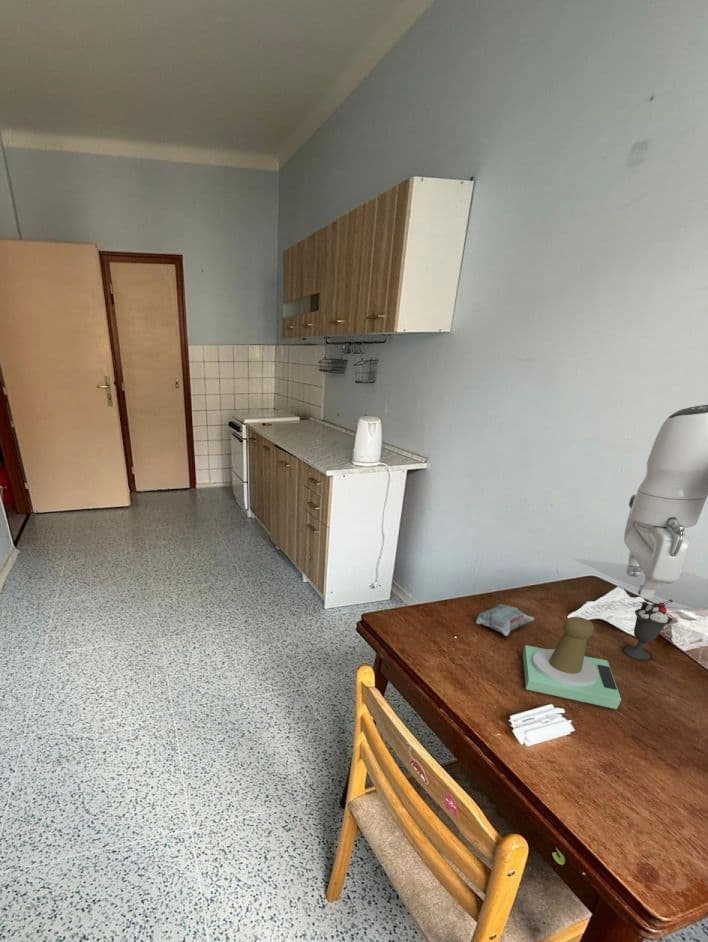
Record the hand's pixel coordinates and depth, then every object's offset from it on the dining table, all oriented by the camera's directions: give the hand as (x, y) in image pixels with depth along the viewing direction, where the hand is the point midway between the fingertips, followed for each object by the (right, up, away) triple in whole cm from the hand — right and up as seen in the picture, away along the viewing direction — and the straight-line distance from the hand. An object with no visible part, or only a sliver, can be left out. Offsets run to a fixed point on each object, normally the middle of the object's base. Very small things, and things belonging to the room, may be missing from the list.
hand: (637, 585), depth 84 cm
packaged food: (-6, -10, +36) cm, 37 cm away
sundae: (+19, -15, +24) cm, 35 cm away
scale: (-2, -20, +17) cm, 26 cm away
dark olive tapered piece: (-3, -17, +15) cm, 23 cm away
